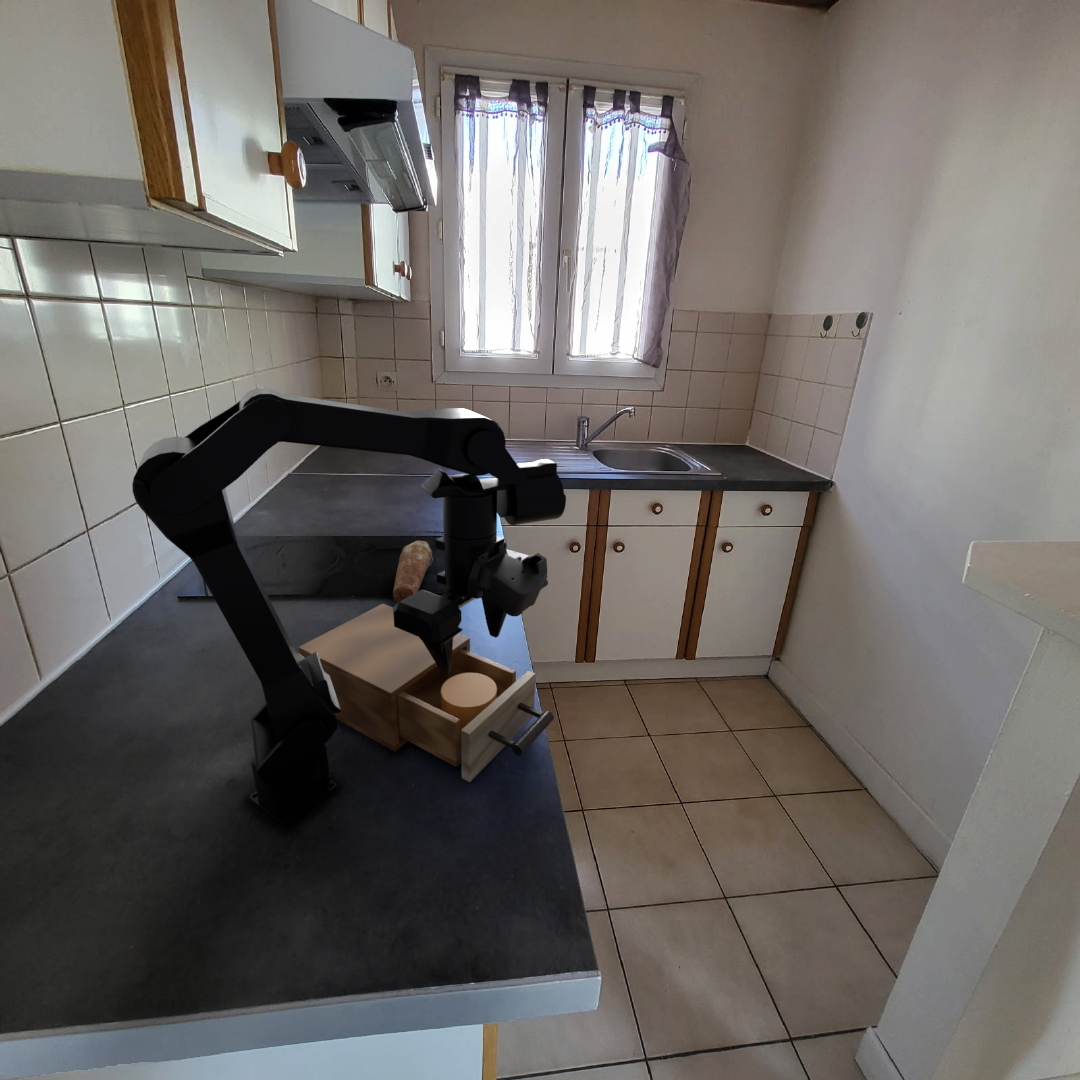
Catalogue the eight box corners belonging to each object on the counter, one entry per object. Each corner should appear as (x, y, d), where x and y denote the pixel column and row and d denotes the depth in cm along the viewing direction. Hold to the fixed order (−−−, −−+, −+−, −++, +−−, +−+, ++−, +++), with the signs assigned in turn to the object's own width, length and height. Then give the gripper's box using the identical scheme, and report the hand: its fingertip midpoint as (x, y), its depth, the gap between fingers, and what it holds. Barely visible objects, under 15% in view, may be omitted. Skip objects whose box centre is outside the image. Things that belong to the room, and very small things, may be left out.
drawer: (565, 731, 71) (568, 686, 68) (504, 802, 60) (505, 752, 57) (443, 675, 80) (441, 635, 78) (371, 728, 70) (367, 683, 67)
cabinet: (470, 690, 79) (470, 638, 76) (394, 752, 67) (390, 693, 64) (386, 652, 87) (382, 603, 84) (305, 701, 75) (297, 647, 72)
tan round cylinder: (473, 749, 66) (473, 714, 64) (430, 726, 69) (428, 693, 67) (507, 717, 71) (507, 684, 69) (465, 697, 74) (464, 666, 72)
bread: (433, 564, 117) (432, 539, 115) (417, 608, 100) (416, 580, 98) (403, 563, 117) (401, 538, 115) (382, 607, 100) (380, 579, 97)
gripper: (476, 581, 49) (477, 724, 55) (577, 522, 64) (569, 639, 69) (384, 551, 54) (394, 684, 60) (497, 503, 69) (496, 613, 75)
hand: (471, 653), depth 66 cm, fingers open, 9 cm apart
